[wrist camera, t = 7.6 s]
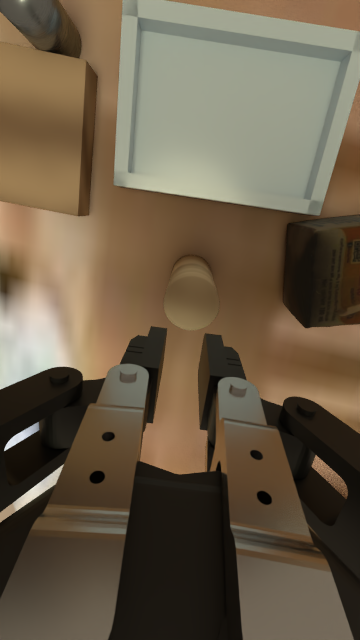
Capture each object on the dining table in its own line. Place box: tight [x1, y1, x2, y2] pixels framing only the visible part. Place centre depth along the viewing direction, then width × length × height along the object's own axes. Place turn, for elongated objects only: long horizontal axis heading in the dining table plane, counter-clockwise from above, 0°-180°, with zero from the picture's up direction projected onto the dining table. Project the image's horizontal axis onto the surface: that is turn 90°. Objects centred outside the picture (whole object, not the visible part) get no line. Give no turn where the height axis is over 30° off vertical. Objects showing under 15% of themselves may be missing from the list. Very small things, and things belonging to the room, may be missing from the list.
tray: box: [114, 0, 360, 216], centre depth 21 cm, size 11×16×2 cm
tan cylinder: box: [164, 255, 220, 330], centre depth 23 cm, size 4×4×9 cm
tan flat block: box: [0, 42, 98, 216], centre depth 23 cm, size 10×7×3 cm
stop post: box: [0, 0, 81, 58], centre depth 18 cm, size 3×3×6 cm
